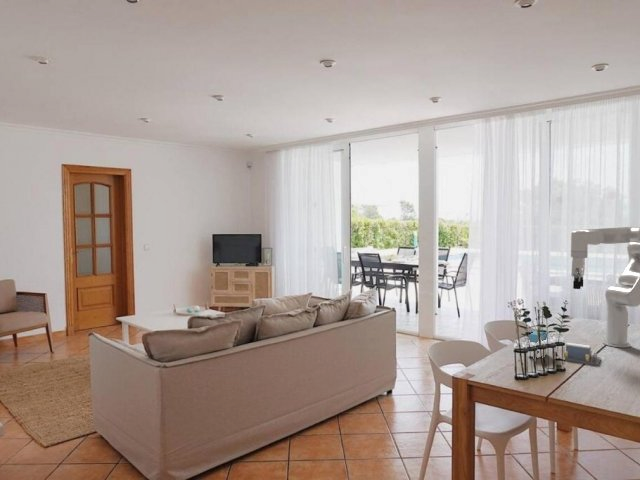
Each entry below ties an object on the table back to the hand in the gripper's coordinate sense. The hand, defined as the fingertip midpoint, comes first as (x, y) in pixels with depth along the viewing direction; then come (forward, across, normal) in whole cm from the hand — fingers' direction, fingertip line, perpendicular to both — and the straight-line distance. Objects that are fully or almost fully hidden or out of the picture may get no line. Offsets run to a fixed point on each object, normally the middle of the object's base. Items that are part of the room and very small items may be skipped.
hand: (578, 287), depth 243 cm
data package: (+33, +24, -14) cm, 43 cm away
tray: (+32, +19, +3) cm, 38 cm away
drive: (+31, +19, +3) cm, 37 cm away
